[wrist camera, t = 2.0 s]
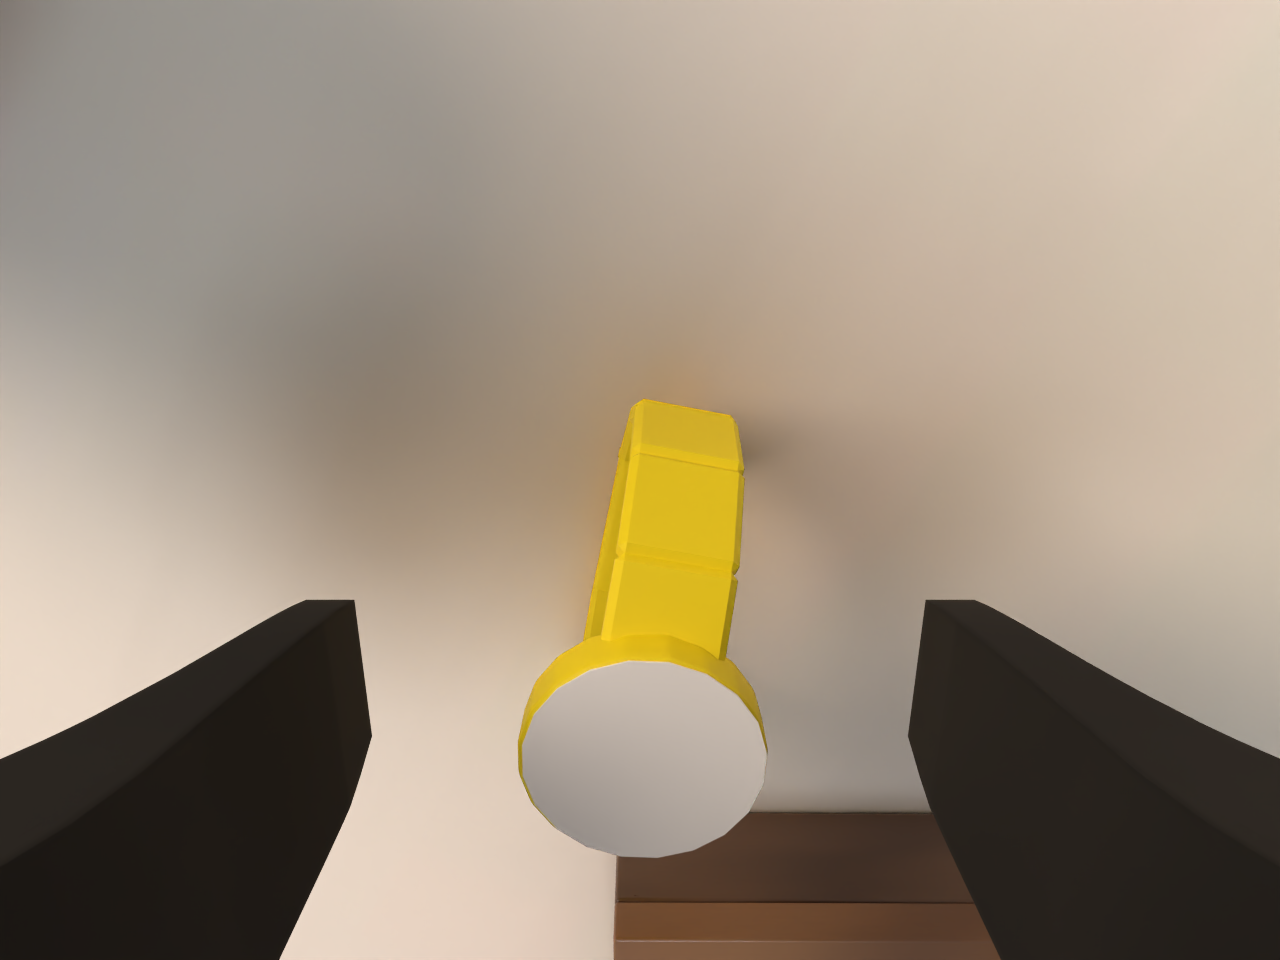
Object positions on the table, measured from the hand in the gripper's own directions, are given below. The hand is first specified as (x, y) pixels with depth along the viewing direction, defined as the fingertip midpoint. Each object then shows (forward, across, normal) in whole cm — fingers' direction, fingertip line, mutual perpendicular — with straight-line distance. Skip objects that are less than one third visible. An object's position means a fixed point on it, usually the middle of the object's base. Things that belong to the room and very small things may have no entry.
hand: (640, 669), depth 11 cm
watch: (+4, 0, 0) cm, 5 cm away
